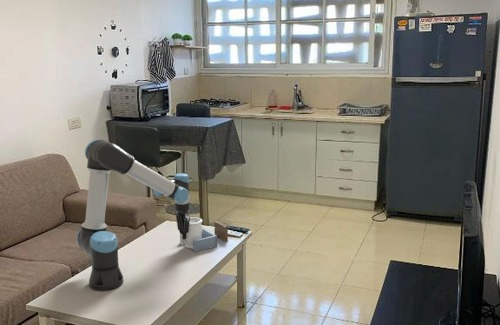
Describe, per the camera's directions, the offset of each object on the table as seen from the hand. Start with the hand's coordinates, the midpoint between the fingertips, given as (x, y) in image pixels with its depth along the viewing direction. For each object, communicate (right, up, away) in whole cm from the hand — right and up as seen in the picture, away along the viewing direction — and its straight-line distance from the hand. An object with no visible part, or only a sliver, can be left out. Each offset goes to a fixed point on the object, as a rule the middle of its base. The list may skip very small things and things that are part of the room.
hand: (183, 244), depth 263 cm
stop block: (+20, +1, +15) cm, 25 cm away
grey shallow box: (+7, -1, +5) cm, 9 cm away
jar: (+5, -2, +4) cm, 7 cm away
